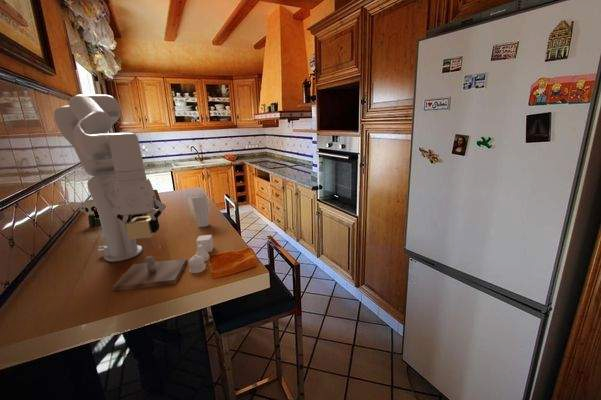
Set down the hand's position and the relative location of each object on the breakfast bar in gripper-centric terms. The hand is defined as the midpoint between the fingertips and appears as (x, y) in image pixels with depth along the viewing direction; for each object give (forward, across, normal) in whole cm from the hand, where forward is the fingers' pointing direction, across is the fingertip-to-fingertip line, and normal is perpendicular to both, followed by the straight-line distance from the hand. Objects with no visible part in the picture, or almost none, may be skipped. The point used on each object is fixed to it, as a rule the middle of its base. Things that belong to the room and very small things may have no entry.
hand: (144, 231), depth 88 cm
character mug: (+15, -51, +63) cm, 83 cm away
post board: (+15, 0, 0) cm, 15 cm away
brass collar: (+1, 0, 0) cm, 1 cm away
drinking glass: (+15, +7, +45) cm, 48 cm away
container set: (+16, +14, +9) cm, 23 cm away
